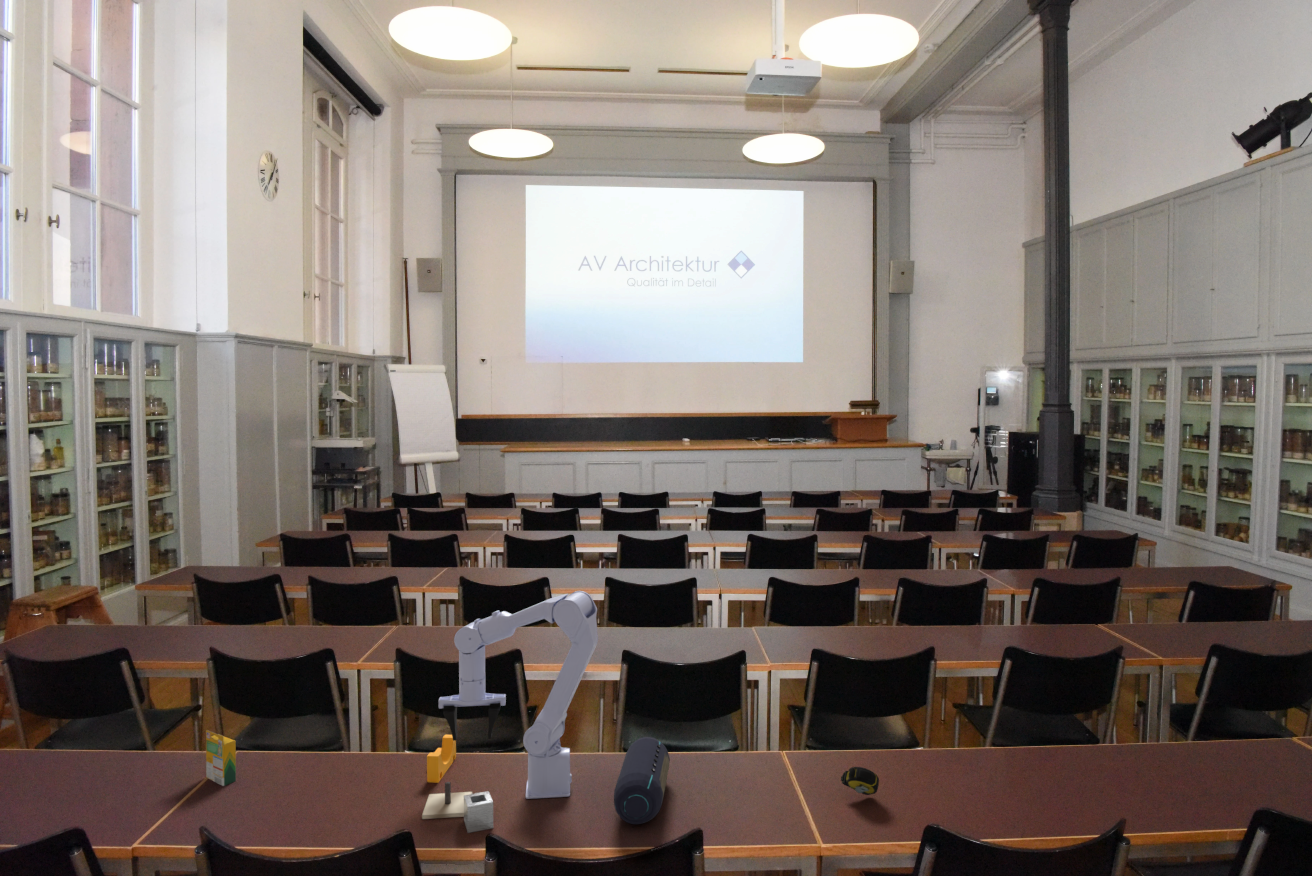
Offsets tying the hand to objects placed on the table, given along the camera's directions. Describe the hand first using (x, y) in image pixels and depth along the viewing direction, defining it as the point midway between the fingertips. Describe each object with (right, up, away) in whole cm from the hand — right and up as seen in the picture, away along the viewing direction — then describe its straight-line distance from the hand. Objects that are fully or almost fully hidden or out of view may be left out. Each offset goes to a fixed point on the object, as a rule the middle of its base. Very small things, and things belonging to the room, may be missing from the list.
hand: (472, 737), depth 174 cm
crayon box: (-56, -10, 0) cm, 57 cm away
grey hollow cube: (+5, -10, -18) cm, 22 cm away
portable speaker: (+38, -10, -9) cm, 41 cm away
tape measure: (+85, -10, -7) cm, 86 cm away
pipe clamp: (-9, -10, +5) cm, 15 cm away
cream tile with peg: (-3, -10, -11) cm, 15 cm away
